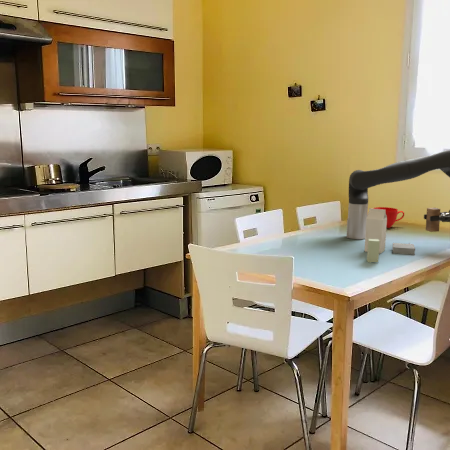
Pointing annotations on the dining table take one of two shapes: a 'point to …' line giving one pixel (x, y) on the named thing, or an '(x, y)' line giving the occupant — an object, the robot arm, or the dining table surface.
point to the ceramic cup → (391, 215)
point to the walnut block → (432, 225)
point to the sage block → (373, 250)
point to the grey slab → (403, 248)
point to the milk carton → (376, 227)
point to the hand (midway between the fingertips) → (427, 217)
